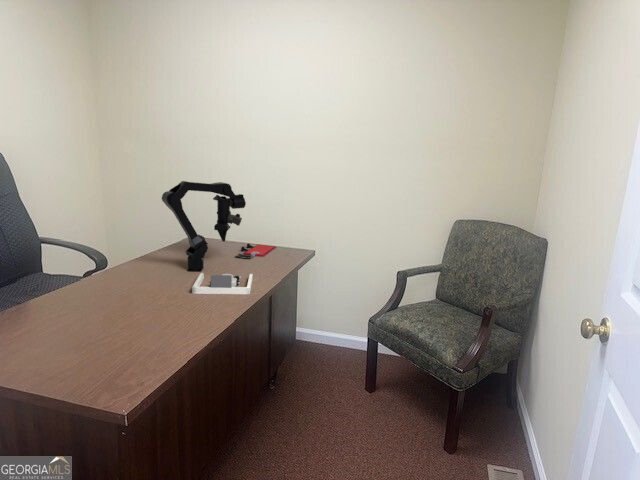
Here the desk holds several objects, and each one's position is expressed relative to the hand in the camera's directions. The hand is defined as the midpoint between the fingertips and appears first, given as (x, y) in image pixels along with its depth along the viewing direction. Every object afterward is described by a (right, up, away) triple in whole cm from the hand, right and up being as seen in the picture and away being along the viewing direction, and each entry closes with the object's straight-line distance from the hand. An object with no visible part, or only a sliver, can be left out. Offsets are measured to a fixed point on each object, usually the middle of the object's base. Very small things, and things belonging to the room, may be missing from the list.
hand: (223, 241), depth 203 cm
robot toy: (+7, -19, -27) cm, 33 cm away
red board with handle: (+10, -7, +30) cm, 32 cm away
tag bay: (+6, -18, -26) cm, 33 cm away
